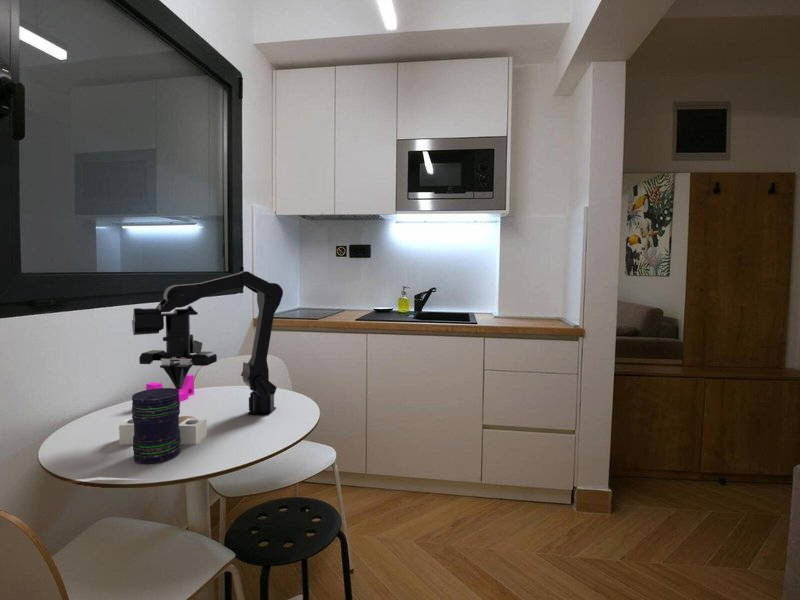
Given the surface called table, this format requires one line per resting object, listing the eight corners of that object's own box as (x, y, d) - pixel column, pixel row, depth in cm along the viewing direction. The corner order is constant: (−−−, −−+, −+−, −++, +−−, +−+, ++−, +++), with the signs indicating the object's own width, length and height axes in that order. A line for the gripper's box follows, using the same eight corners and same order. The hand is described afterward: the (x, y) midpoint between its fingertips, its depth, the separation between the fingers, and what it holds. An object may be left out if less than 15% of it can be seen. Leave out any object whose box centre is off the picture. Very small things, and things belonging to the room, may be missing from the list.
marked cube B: (148, 435, 113) (147, 416, 112) (142, 443, 108) (141, 423, 107) (126, 437, 111) (126, 417, 111) (119, 445, 106) (119, 424, 106)
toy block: (160, 409, 134) (159, 386, 133) (146, 407, 136) (146, 384, 136) (199, 397, 148) (199, 375, 147) (186, 394, 150) (186, 373, 150)
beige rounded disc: (201, 426, 120) (201, 416, 120) (186, 437, 112) (185, 426, 112) (174, 426, 120) (173, 415, 120) (156, 436, 112) (156, 425, 112)
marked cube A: (206, 438, 112) (206, 418, 111) (196, 445, 107) (195, 425, 106) (188, 437, 112) (188, 417, 112) (177, 444, 107) (176, 424, 107)
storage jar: (147, 447, 105) (145, 387, 104) (188, 446, 106) (186, 387, 105) (123, 465, 95) (121, 400, 94) (169, 464, 96) (167, 399, 95)
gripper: (226, 328, 121) (226, 382, 123) (163, 327, 123) (164, 380, 124) (205, 334, 110) (206, 393, 111) (137, 332, 112) (138, 391, 113)
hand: (179, 389), depth 115 cm, fingers closed
